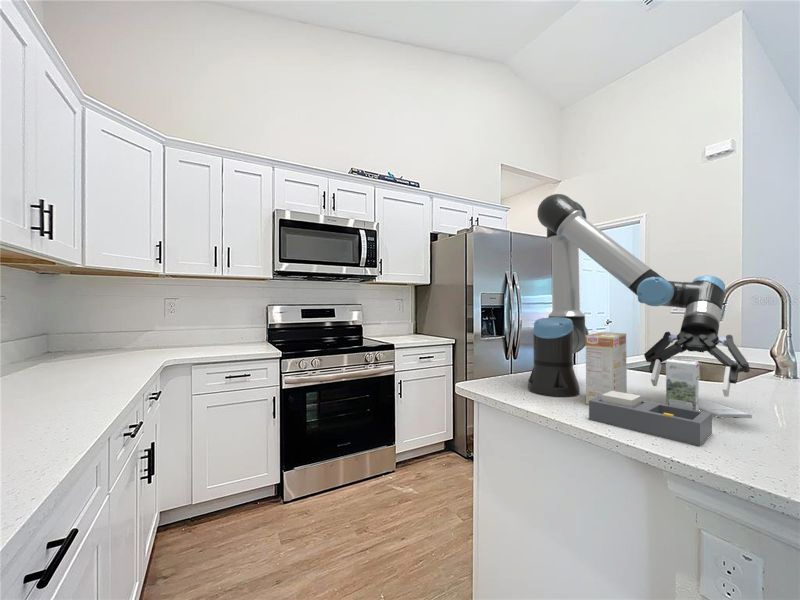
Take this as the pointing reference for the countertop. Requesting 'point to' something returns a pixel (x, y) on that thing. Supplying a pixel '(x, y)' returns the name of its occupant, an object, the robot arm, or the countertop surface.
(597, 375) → the coffeecake box
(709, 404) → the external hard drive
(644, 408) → the gray desk organizer tray
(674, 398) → the syrup box
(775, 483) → the countertop surface
